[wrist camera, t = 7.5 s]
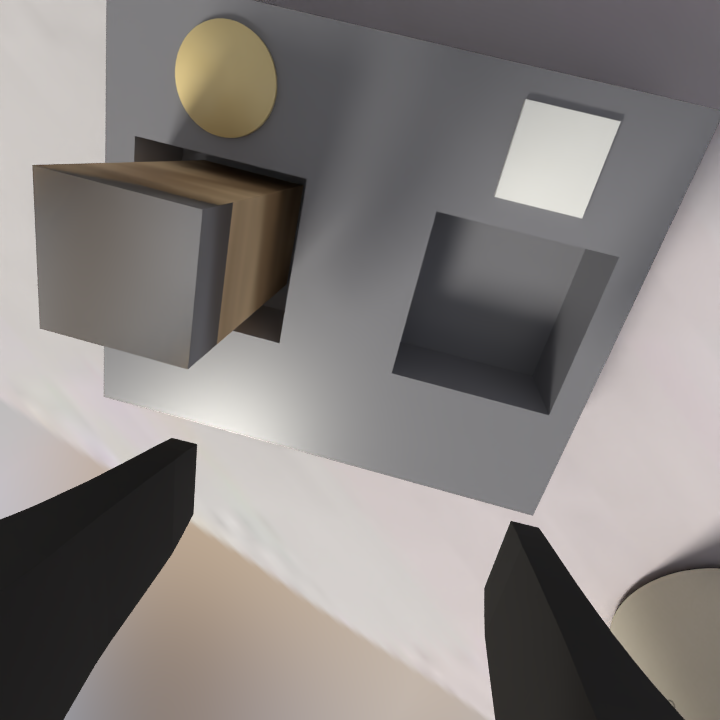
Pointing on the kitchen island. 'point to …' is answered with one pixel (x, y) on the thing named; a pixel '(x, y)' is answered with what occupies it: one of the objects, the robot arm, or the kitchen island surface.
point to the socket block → (404, 235)
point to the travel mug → (677, 638)
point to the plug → (159, 252)
